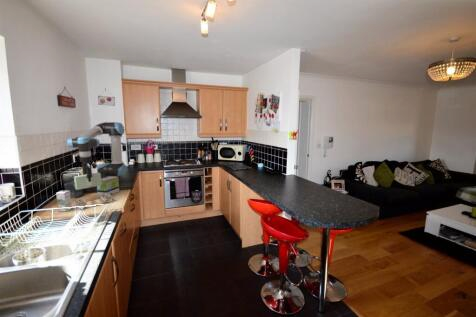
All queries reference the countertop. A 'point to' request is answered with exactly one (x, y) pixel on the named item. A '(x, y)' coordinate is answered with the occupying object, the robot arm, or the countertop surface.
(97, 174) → the pale green block
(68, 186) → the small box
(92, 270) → the countertop surface
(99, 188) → the tea box
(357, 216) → the countertop surface
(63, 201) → the syrup box
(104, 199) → the cradle
